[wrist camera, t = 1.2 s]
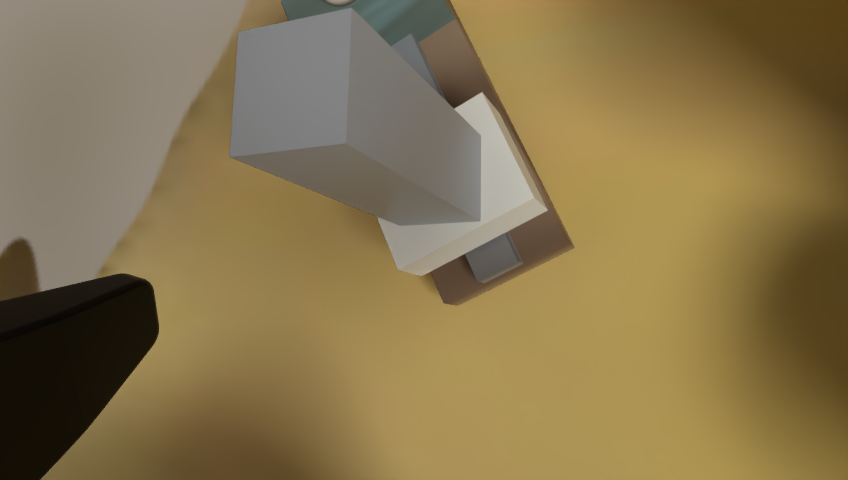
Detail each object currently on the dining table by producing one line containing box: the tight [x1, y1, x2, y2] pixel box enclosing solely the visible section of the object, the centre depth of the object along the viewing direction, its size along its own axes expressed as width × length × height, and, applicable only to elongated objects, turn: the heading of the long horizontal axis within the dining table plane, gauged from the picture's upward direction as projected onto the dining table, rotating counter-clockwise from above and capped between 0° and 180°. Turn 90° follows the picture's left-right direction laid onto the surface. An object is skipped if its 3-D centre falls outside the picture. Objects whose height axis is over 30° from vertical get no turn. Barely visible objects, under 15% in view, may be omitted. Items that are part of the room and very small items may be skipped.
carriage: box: [229, 8, 548, 276], centre depth 17 cm, size 4×5×10 cm
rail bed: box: [281, 0, 574, 306], centre depth 23 cm, size 12×5×6 cm, turn 23°
